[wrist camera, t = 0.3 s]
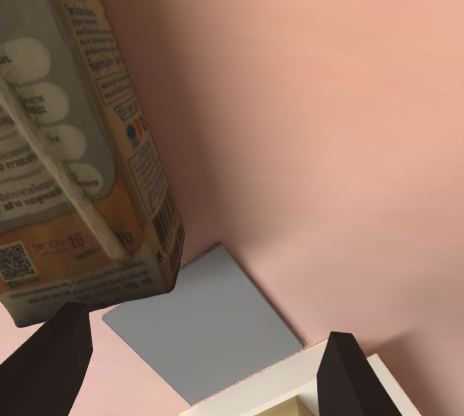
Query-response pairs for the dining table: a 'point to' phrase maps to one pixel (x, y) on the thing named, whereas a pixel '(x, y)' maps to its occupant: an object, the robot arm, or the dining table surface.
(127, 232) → the beverage carton
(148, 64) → the dining table surface
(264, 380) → the white tray
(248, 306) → the mat
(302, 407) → the walnut block
